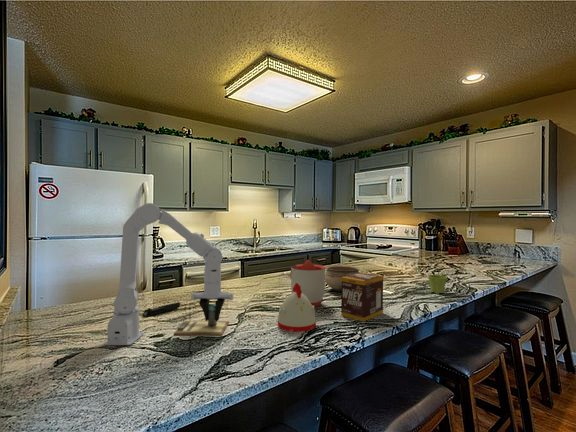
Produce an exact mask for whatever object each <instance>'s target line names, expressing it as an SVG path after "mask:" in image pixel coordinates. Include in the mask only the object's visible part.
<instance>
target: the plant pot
mask: <svg viewBox="0 0 576 432" xmlns="http://www.w3.org/2000/svg"><path fill="white" fill-rule="evenodd" d="M427 277H428V281H429V287H430V292H431V291H432V292H435V293H444V294H445V288H446V282H447V279H448V276H446V275H441V274H429V275H427ZM435 293H434V294H435Z"/></svg>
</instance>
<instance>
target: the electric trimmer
mask: <svg viewBox="0 0 576 432" xmlns="http://www.w3.org/2000/svg"><path fill="white" fill-rule="evenodd" d="M180 307H181V302H180V301H178V302H174V303H170V304H163V305H160V306H158V307H155V308H153V307H152V308H151V307H149V308H147V309H144V311H143V313H142V317H144V318H149V317H151V316H154V315H157V314H162V313H168V312H171V311H173V310H176V309H179V308H180Z"/></svg>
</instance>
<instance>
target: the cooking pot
mask: <svg viewBox="0 0 576 432" xmlns="http://www.w3.org/2000/svg"><path fill="white" fill-rule="evenodd" d="M325 269H326V270H325V284H326V285H327V286H328V287H330V288H331V289H333V290H334V291H335V292H337V291H341V292H340V293H342V277H344V276H349V275H353V274H357V273H360V271H359V270H360V268H359V267H357V266H353V265H344V264H343V265H342V264H338V265H328V266H325Z"/></svg>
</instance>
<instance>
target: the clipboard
mask: <svg viewBox="0 0 576 432" xmlns="http://www.w3.org/2000/svg"><path fill="white" fill-rule="evenodd" d="M229 324H230V321H229V320H227V321H226V320H224V321H223V320H221V321H220V320H218V321H217V325H216V326H208V321H205V320H184V321H182V323H180V324H179V326H177V330H175V332H174V333H173V336H218V337H219V336H220V337H221V336H223V335H224V333H225V332H226V329H227V328H228V326H229Z"/></svg>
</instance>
